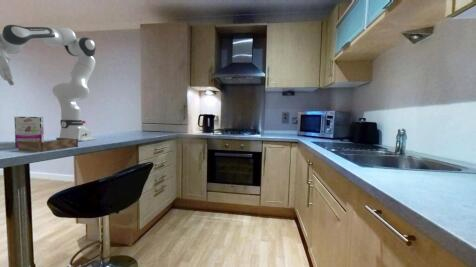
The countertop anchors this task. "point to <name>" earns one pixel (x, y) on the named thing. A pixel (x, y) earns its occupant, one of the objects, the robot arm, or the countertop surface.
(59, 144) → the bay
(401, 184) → the countertop surface
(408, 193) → the countertop surface
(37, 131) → the candy bar box
